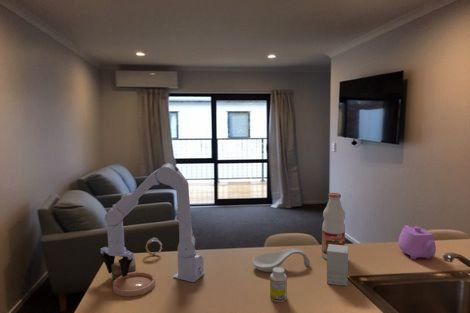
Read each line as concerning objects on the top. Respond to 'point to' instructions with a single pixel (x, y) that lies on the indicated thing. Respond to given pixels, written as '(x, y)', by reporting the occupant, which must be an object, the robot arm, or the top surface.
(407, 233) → the purple animal planter
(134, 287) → the dish
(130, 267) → the beige tall rounded piece
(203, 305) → the top surface
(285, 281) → the supplement bottle
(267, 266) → the spoon rest
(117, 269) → the brown short cylinder
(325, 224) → the fruit juice
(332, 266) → the supplement box
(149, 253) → the ring
